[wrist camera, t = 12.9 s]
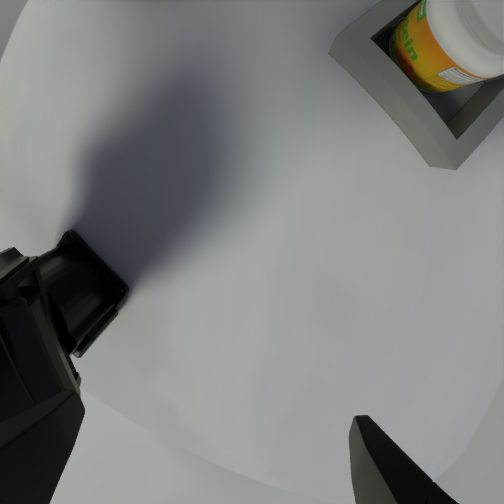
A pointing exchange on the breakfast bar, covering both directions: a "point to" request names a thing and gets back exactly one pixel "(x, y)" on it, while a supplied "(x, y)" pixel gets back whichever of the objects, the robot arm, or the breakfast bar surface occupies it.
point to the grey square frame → (415, 91)
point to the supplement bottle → (450, 43)
